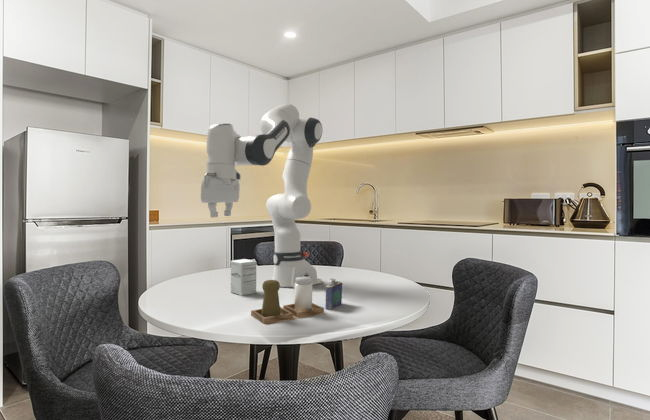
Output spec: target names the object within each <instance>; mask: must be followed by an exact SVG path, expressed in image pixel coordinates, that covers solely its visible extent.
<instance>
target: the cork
mask: <svg viewBox="0 0 650 420" xmlns="http://www.w3.org/2000/svg"><path fill="white" fill-rule="evenodd" d="M261 285H262V286H261V287H262V290H263V297H262V299H263V300H262V305H261V309H262V313H261V315H262V316H264V317H271V316H276V315H281V312H280V307H281V306H280V298H279V290H280V288H281V287H280V284H279V282H278V281H276V280H272V279H267V280H264V281H263V283H262V284H261Z"/></svg>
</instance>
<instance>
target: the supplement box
mask: <svg viewBox="0 0 650 420" xmlns="http://www.w3.org/2000/svg"><path fill="white" fill-rule="evenodd" d="M230 293H233V294H236V295H239V296H246V295H252V294H254V293H255V294H256V293H257V261H256V260H252V259H247V258H242V259H234V260H230Z"/></svg>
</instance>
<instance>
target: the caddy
mask: <svg viewBox="0 0 650 420" xmlns="http://www.w3.org/2000/svg"><path fill="white" fill-rule="evenodd" d="M282 306H283V307H281V306H280V312H281V315H276V316H271V317H264V316H262V315H261V313H262V308H258V309H257V308H256V309H252V310H250V316H251V317H253V318H254V319H256V320H257V321H259V322H260V323H262V324H263V325H269V324H270V325H271V324H275V323H276V324H277V323H281V322H289V321H292V320H297V319H298V320H299V319H303V318H309V317H314V316H320V315H325V314H326V313H325V307H323V306H320V305H318V304H315V303H314V302H312V309H311V310H305V311H300V312H298V311H296V310H295V303H289V304H283V305H282Z"/></svg>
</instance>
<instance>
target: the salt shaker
mask: <svg viewBox="0 0 650 420" xmlns="http://www.w3.org/2000/svg"><path fill="white" fill-rule="evenodd" d="M312 303H313V285H312V282H311V277H305V276H303V277H296V282H295V288H294V304H295V310H296V311H298V312H300V311H305V310H311V309H312Z"/></svg>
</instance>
